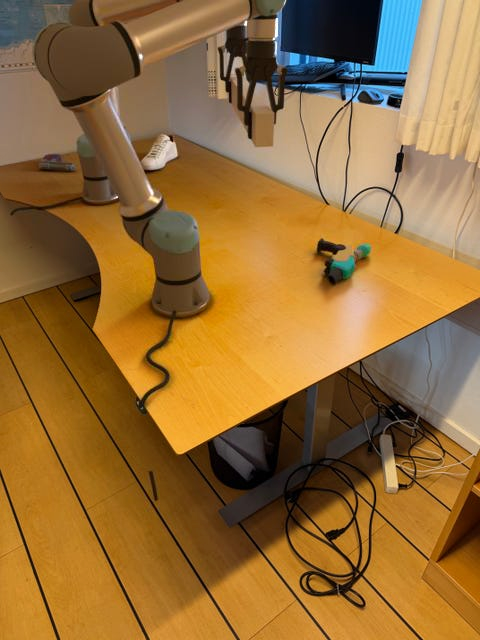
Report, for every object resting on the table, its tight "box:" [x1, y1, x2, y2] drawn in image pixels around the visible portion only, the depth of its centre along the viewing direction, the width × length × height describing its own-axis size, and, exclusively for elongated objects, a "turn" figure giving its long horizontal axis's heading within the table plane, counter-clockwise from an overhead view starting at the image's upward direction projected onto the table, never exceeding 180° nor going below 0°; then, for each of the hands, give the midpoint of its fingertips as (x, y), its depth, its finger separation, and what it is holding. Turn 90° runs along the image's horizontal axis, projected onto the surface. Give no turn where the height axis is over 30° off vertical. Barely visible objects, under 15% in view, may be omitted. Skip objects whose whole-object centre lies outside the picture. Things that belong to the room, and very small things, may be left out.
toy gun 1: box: [37, 153, 77, 172], centre depth 215 cm, size 4×19×15 cm
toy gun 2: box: [316, 237, 372, 286], centre depth 138 cm, size 4×26×15 cm
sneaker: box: [140, 133, 179, 171], centre depth 214 cm, size 10×29×12 cm, turn 163°
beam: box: [229, 74, 275, 148], centre depth 146 cm, size 60×5×8 cm, turn 8°
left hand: (237, 102), depth 167 cm, fingers closed on beam, 5 cm apart
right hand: (259, 137), depth 130 cm, fingers closed on beam, 5 cm apart
